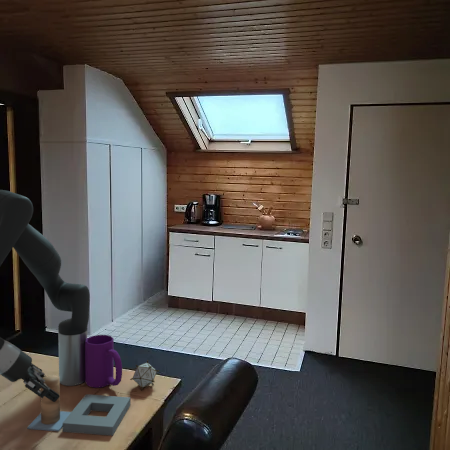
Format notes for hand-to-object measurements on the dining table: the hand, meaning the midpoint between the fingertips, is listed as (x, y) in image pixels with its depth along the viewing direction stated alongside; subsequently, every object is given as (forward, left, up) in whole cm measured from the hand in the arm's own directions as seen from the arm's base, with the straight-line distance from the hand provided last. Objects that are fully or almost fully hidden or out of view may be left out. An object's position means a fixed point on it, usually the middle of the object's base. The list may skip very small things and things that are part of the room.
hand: (54, 392), depth 125 cm
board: (-3, +12, -8) cm, 15 cm away
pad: (+1, -1, -8) cm, 8 cm away
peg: (+1, -1, -8) cm, 8 cm away
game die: (-23, +20, -9) cm, 32 cm away
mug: (-22, +7, -9) cm, 25 cm away
